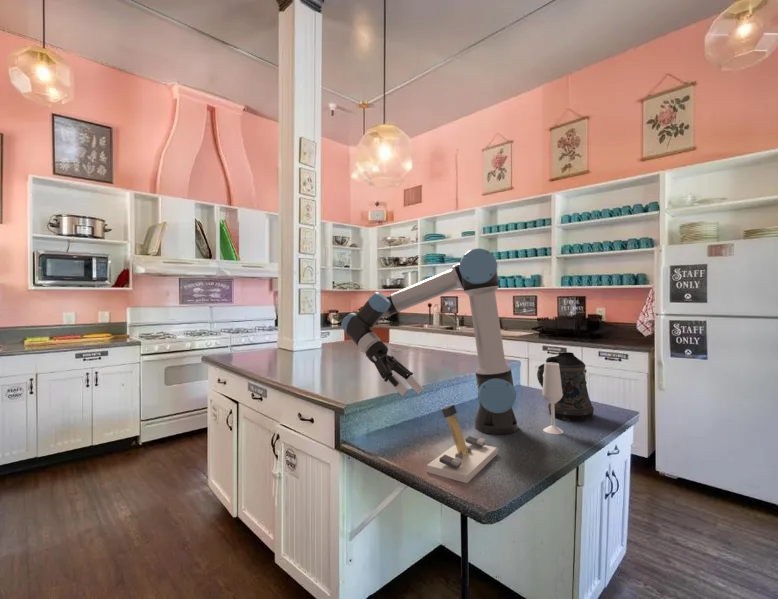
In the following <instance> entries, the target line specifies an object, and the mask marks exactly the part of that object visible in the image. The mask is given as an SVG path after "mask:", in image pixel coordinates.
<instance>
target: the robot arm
mask: <svg viewBox="0 0 778 599" xmlns="http://www.w3.org/2000/svg"><path fill="white" fill-rule="evenodd" d="M497 267H498V262H497V259H496V258H495V255H493V253H492V252H490V250H487V249H485V248H477V247H476V248H472V249H470V250H468V251H467V252H465V254H463V255H462V257H461V258H460V262H458V263H456V264H453V265H452V267H451V268H450V269H448V270H446V271H444V272H441V273H439V274H437V275H434V276H432V277H429V278H426V279H424V280H422V281H420V282H417V283H415V284H413V285H410V286H408V287H405V288H403V289H400V290H398V291H395V292H393V293H391V294H388V295H386V296H385V295H384V294H382V293H381V292H379V291H375V292H373V294H372V295H371V296H369V298H368V300H367V301H366V302H365V303H364V304H363V306H361V308H360V310H359V311H358V312H357V313H355V312H350V313H348V314H347V315H346V316H344V318H343V319H342V321H341V329H342V330H343V331H344V333H345V334H346V335H347V336H348V337H349V338H350V339H351V341H352V342H353V343H354V344H355V345H356V346H357V347H358V348H359V349H360V350H359V351H360V352H361V353H363V354H364V355H365V356H366V357H367V359H368V360H369V361H370V362H371V363H372V364H374V366H375V368H376V369H377V371H378V373H379V376H380V377H381V378H382V379H383V381H384V382H385V383H387V382H389V384H391V386H392V387H393V388H394V389H395V390H396V392H397V393H399V395H400V396H401V397H403V396H404V395H405V394H406V393H407V392H408V390H409V389H408V388H407V386H406V385H405V384H404V383H403V382H402V381H401V380H400V379H399V378H398V376H396V374H398V375H399V376H400V377H402V378H403V379H405V382H406V383H407V384H408V385H409V387H411V388H412V389H413V390H414V392H415V393H417V394H418V395H420V394H421V393H422V392H423V391H424V390H425V388H424V387H423V386H422V385H421V384H420V383H419V382H418V380H417V379H416V378H415V377H414V376H413V375H414V373H413V371H411V370H409V368H407V367H405V366H404V365H403V364H402V363H401V362H400V361H399V360H397V359H396V357H394V356H393V355H391V356H390V355H388V351H389V348H388V346H387V344H385V343H384V342H383V341H382V340H381V338H380V337H378V335H377V334H376V333H375V332H374V331H373V330H372V328H373V327H374V326H375V325H376V324H377V323H378V322H379V320H380V319H383V318H388V317H391V316H392V315H394V314H397V313H400V312H402V311H405V310H406V309H410V308H412V307H414V306H416V305H419V304H422V303H424V302H427V301H430V300H432V299H434V298H436V297H439V296H443V295H444V294H447V293H450V292H452V291H454V290H456V289H461V290H463V293H465V294H466V295H467V296H468V297H469V305H470V311H471V312H470V313H471V319H472V326H473V334H474V338H475V346H476V353H477V359H478V367H477V368H476V370H475V378H476V386H477V398H478V401H479V402H478V409H477V412H476V415H475V418H474V427H475V429H477V430H478V431H480V432H481V433H482V432H483V433H485V434H492V435H493V434H494V435H508V434H513V433H515V432H517V430H518V421H517V418H516V415H515V412H514V410H513V407H514V404H515V402H516V399H517V392H516V390H515V387H514V380H513V373H512V367H511V366H509V365H508V364H507V363H506V358H505V351H504V350H505V349H504V343H503V338H502V331H501V324H500V317H499V311H498V304H497V297H496V291H497V290H498V289H499V287H500V285H499V284H500V283H499V278H498V271H497ZM392 371H393V372H395V373H396V374H393V372H392Z"/></svg>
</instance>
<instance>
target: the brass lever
mask: <svg viewBox="0 0 778 599" xmlns="http://www.w3.org/2000/svg"><path fill="white" fill-rule="evenodd" d="M441 411H442V413H443V417H444V418H446V421H447V423H448V428H449V429H450V432H451V436H452V438H453V441H454V445H456V448H457V451H458V453H459V454H462V457H463V456H464V455H466V454H467V453H468V450H467V447H466V444H465V441H466V440H465V439H464V438H465V437H464V436H463V435H464V434H463V432H462V429H461V426H460V423H459V421H458V418H457V415H456V414H457V413H458V411H457V409H456V406H455V404H452V405H448V406H446V407H444V408H443V409H441Z"/></svg>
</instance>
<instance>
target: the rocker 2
mask: <svg viewBox="0 0 778 599" xmlns="http://www.w3.org/2000/svg"><path fill="white" fill-rule="evenodd" d="M464 441H465V442H467V443H469V444H472V445H474V446H477V447H479V448H482V447H483V446H484V445H486V438H483V437H479V438H477V437H473V436H471V435H469V436H468V437H466V438H465V440H464Z"/></svg>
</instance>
